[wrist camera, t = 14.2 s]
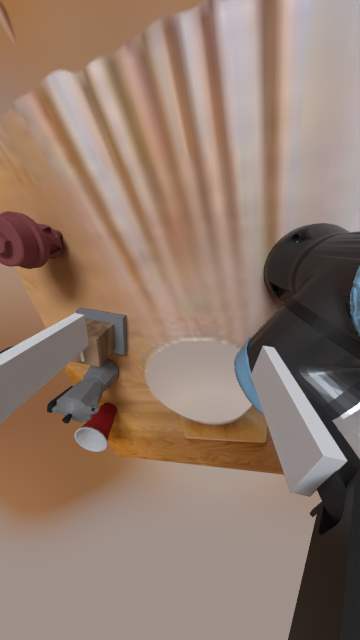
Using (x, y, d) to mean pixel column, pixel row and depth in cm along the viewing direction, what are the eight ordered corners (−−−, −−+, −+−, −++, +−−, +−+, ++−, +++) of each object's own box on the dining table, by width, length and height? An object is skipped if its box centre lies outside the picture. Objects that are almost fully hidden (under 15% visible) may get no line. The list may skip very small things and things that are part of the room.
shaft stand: (125, 315, 45) (109, 330, 37) (126, 351, 50) (112, 370, 43) (80, 307, 46) (56, 320, 38) (86, 343, 51) (65, 361, 44)
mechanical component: (63, 214, 37) (79, 262, 41) (25, 220, 38) (44, 265, 42) (2, 202, 26) (32, 269, 30) (-48, 211, 27) (-13, 274, 31)
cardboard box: (89, 343, 48) (68, 361, 41) (85, 318, 45) (61, 333, 38) (115, 348, 48) (98, 367, 40) (114, 323, 44) (95, 340, 37)
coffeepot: (120, 356, 52) (81, 408, 35) (128, 379, 55) (97, 436, 39) (77, 358, 54) (23, 407, 38) (88, 380, 58) (42, 433, 42)
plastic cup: (124, 402, 61) (106, 436, 50) (122, 420, 65) (106, 455, 55) (95, 394, 61) (72, 426, 50) (96, 412, 66) (74, 446, 55)
